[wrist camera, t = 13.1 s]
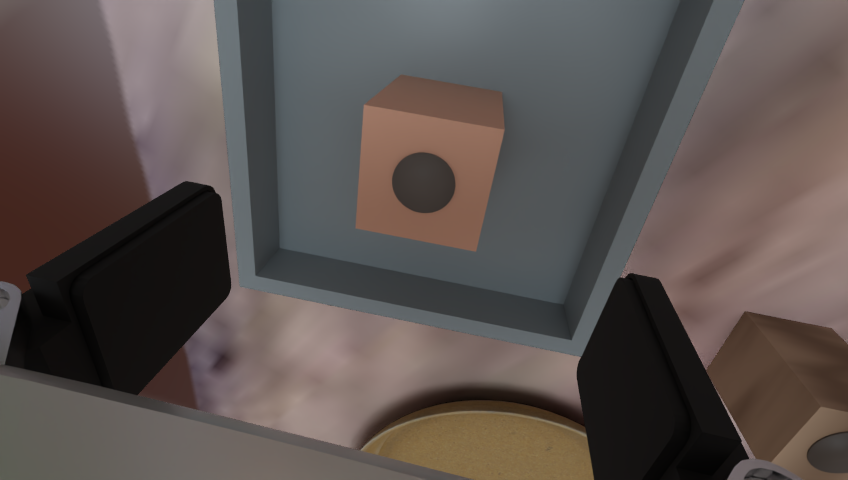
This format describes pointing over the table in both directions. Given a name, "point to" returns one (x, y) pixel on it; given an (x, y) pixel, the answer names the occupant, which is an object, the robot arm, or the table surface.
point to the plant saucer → (488, 442)
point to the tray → (516, 166)
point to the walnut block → (787, 393)
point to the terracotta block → (429, 160)
